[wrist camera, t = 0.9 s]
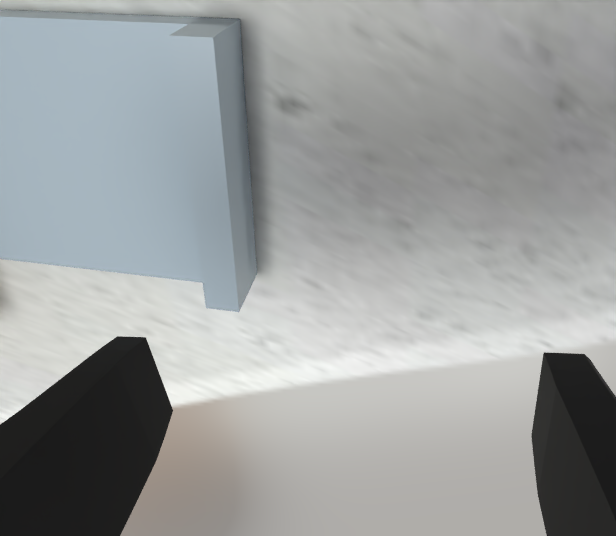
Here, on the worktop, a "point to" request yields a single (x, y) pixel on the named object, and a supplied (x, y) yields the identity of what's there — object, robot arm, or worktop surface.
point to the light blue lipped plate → (127, 147)
